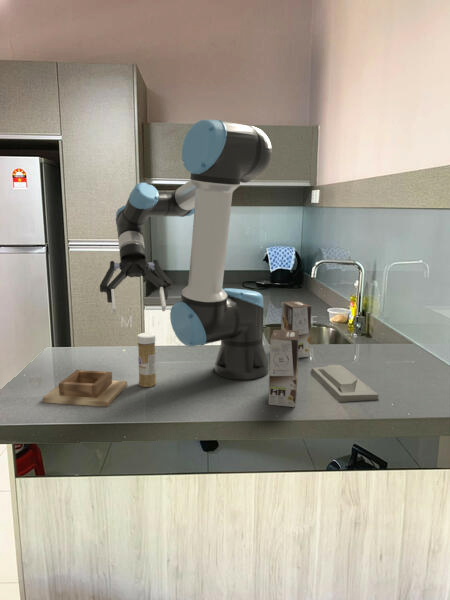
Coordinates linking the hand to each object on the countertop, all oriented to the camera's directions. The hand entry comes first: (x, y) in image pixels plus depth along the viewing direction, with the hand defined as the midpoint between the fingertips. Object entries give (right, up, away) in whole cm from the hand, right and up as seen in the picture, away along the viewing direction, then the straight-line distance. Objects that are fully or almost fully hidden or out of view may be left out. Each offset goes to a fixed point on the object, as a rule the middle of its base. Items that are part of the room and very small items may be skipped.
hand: (139, 310), depth 127 cm
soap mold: (+54, -20, -7) cm, 58 cm away
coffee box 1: (+46, -14, +19) cm, 51 cm away
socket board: (-11, -20, -13) cm, 26 cm away
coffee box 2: (+38, -21, -16) cm, 46 cm away
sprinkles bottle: (+3, -19, -7) cm, 21 cm away
